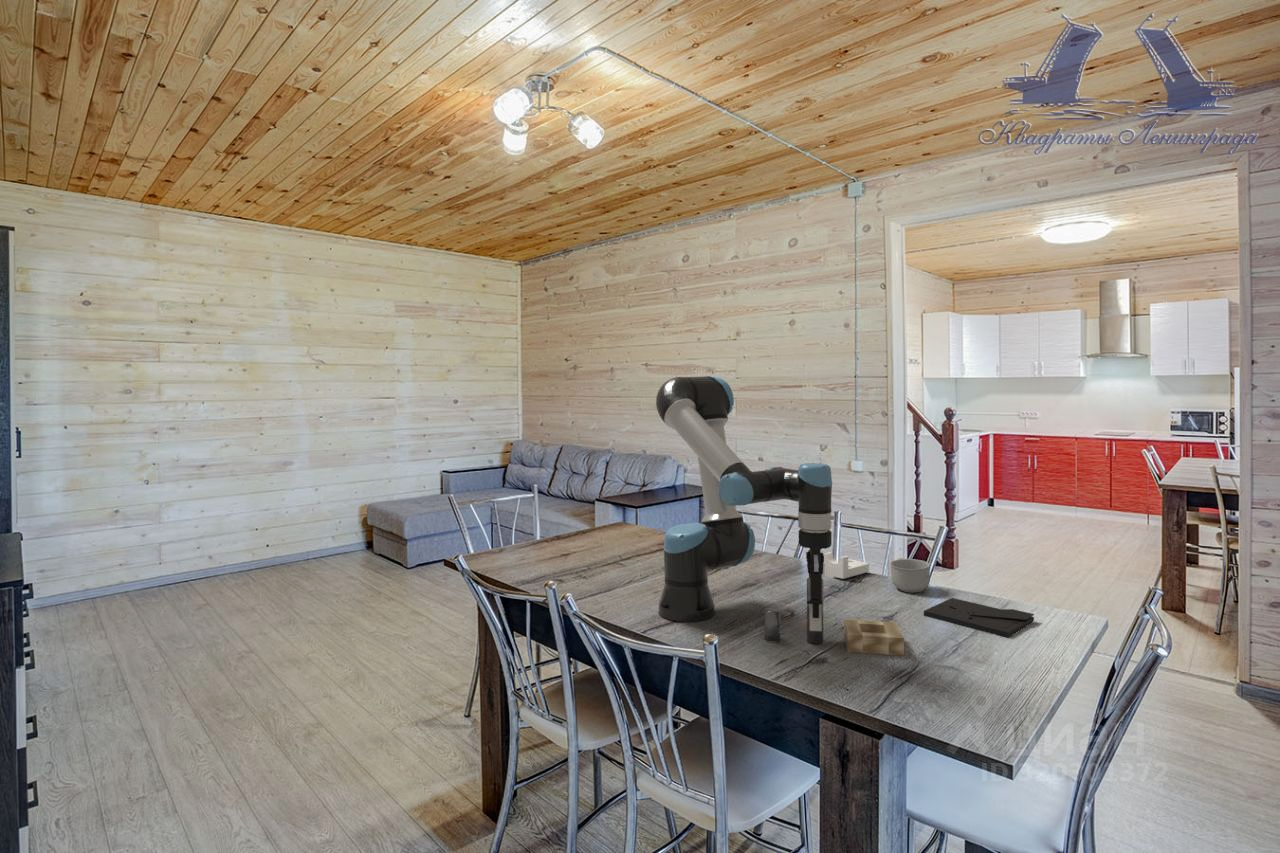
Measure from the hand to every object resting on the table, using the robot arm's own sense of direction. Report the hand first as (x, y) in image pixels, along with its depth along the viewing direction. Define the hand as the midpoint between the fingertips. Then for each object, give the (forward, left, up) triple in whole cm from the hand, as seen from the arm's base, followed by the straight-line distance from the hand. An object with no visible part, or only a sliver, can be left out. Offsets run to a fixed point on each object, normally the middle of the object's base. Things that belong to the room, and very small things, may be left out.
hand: (815, 626), depth 157 cm
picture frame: (+42, +23, -5) cm, 48 cm away
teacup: (+29, +47, -4) cm, 55 cm away
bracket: (+12, +58, -4) cm, 60 cm away
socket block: (+13, 0, -4) cm, 13 cm away
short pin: (-10, 0, -4) cm, 11 cm away
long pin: (0, 0, -4) cm, 4 cm away
